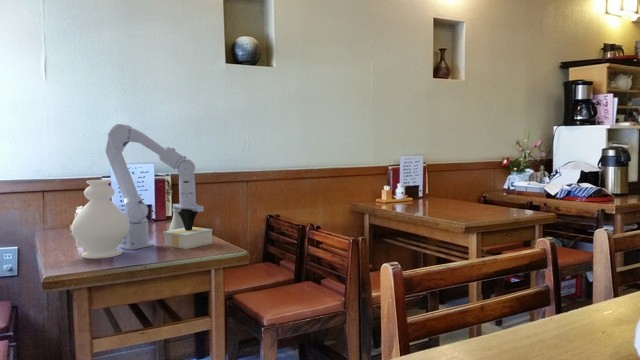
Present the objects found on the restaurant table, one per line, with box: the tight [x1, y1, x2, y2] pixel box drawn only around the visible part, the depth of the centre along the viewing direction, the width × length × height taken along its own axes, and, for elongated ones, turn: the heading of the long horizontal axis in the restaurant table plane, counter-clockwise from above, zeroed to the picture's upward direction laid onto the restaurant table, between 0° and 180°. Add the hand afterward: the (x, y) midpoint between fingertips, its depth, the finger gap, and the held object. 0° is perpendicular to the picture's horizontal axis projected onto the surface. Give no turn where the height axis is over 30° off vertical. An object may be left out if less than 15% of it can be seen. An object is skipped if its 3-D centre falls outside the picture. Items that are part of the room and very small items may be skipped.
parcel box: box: [163, 230, 213, 250], centre depth 190 cm, size 12×12×4 cm
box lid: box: [162, 226, 213, 237], centre depth 190 cm, size 12×12×1 cm
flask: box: [168, 208, 185, 231], centre depth 215 cm, size 7×7×10 cm
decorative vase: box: [71, 179, 129, 260], centre depth 174 cm, size 18×18×25 cm
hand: (188, 230), depth 190 cm, fingers closed, pressing on box lid
